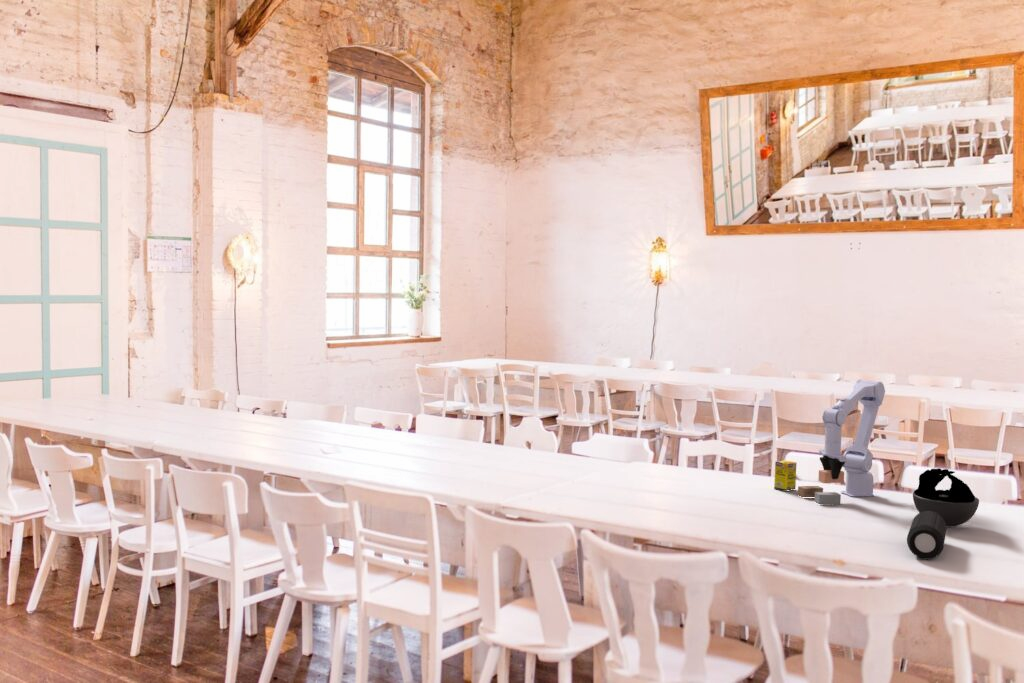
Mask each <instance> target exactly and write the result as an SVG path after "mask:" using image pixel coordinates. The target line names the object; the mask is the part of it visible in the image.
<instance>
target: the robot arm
mask: <svg viewBox="0 0 1024 683" xmlns="http://www.w3.org/2000/svg"><path fill="white" fill-rule="evenodd" d="M885 394H886V389H885V385H884V383H883V382H881V381H872V380H871V381H870V380H862V379H858V380H856V382H855V383H854V385H853V390H852V391H851V392H850V393H849V394H848V395H847V397H841V398H839V400H838V401H837V402H836V403H835V404H834V405H833V406H832V407H831V408H827V409H825V410H824V411H823V415H822V422H823V428H824V430H825V431H824V449H819V451H818V456H820V457H819V461H820V463H821V465H822V470H831V475H832V479H838V477H839V474H840V471H842V469H843V468H844V471H845V473H846V475H845V490H841V491H840V493H842V494H844V495H847V496H850V497H851V498H852V497H854V498H855V497H874V496H875V495H874V476H873V474H872V472H870V470H871V469H872V467H873V454H872V452H871V451H870V449H869V445H870V441H871V437H872V434H873V430H874V426H875V423H876V420H877V416H878V411H879V408H880V406H882V404H883V401H884V397H885ZM858 402H859V403H860V404H862V405H863V409H862V413H861V416H860V421H859V424H858V428H857V432H856V435H855V438H854V441H853V444H852V445H850V446H849V447H847V448H846V449H845V452H844V453H843V454H842V453H841V452H842V434H843V433H842V432H843V430H842V428H843V425H844V424H845V422H846V419H847V417H848V415H849V414H850V413H851V412H852V411H853V410H854V407H855V405H856V404H857V403H858Z"/></svg>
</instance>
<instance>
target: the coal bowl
mask: <svg viewBox="0 0 1024 683" xmlns="http://www.w3.org/2000/svg"><path fill="white" fill-rule="evenodd" d="M954 473H956V471H953V470H949V469H946V468H944V469H941V468H931V469H926V470H924V471H923V472H922V473H921V474H919V477H918V487H917V488H916V489H914V490H913V492H912V500H913V503H914V507H915V509H916V510H917V512H918V514H919V513H920V512H923V511H933V512H936V513H938V514H939V515H941V516H942V517H943V519H944V520H945V522H946V525H947V528H953V527H958V526H961V525H963V524H965V523H967V522H969V520H971V519H972V518H973V517H974V515H975V514H976V512H977V510H978V508H979V504H980V499H979V498H978V497H977V496H975V494H974V493H973V492H972V490H971V489H970V487H969V485H968V484H967V483H965V482H964V481H963V480H962V479H960V478H958V477H957V476H955V475H954ZM946 477H947V478H948V479H949V480H950V481H951V484H950V488H949V489H945V490H944V489H936V487H937V486H938V485H939V484H940V483H941V482H942V481H943V480H944V479H945V478H946Z"/></svg>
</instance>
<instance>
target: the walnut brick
mask: <svg viewBox="0 0 1024 683" xmlns="http://www.w3.org/2000/svg"><path fill="white" fill-rule="evenodd" d="M815 492H824V488H823V487H821V486H819V485H801V486H800V485H799V486H797V496H798V495H799V496H801V497H815Z"/></svg>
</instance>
